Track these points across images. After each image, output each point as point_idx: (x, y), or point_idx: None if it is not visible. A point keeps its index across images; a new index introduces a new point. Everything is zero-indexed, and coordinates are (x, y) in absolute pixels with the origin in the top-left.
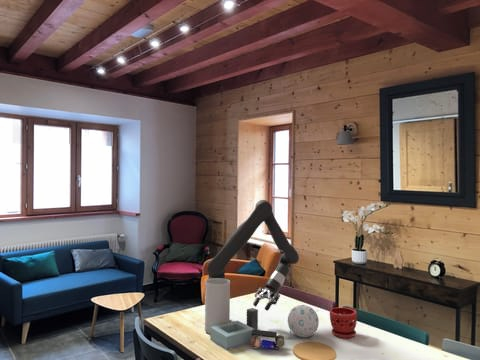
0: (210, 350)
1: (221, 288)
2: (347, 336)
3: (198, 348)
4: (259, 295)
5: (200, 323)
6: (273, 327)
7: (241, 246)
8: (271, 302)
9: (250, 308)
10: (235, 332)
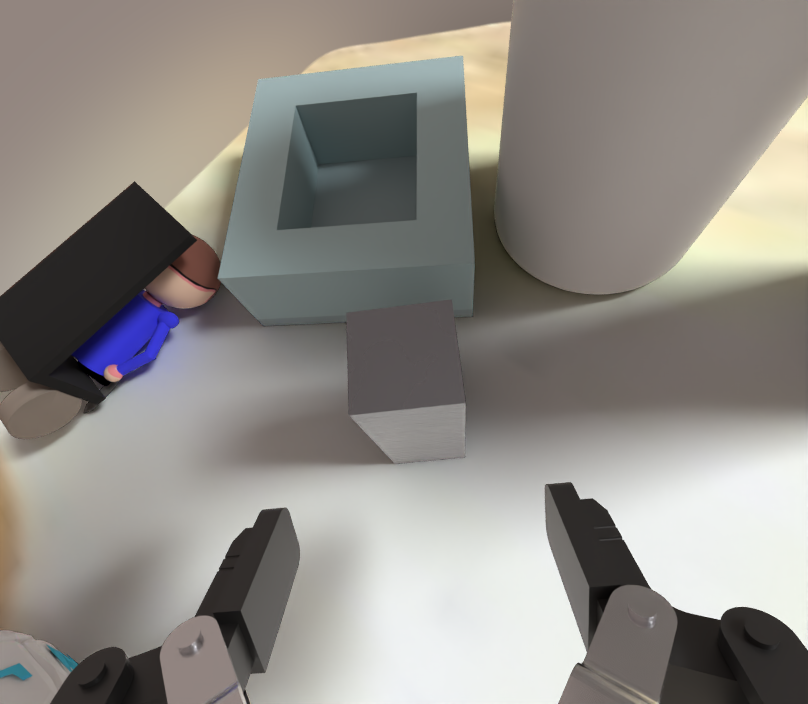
0: None
1: None
2: None
3: (399, 60)
4: (615, 680)
5: (797, 179)
6: (386, 684)
7: None
8: (156, 652)
9: (459, 362)
10: (271, 142)
